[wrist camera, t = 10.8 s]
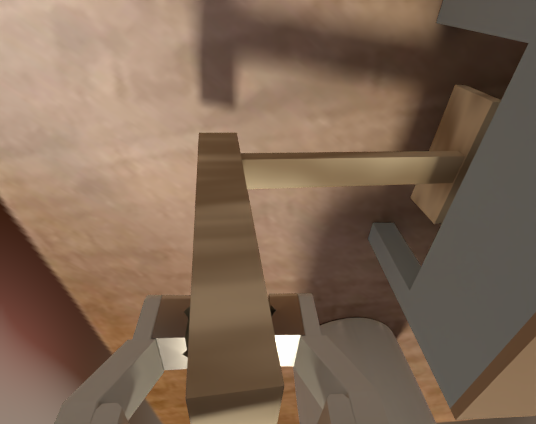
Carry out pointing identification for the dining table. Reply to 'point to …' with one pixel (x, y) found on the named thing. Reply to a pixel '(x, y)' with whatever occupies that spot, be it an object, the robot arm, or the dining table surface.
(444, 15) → the wooden top stool
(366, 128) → the dining table surface
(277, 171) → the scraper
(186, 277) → the dining table surface
